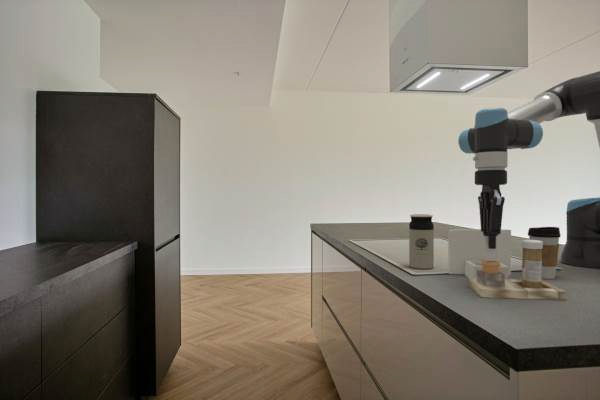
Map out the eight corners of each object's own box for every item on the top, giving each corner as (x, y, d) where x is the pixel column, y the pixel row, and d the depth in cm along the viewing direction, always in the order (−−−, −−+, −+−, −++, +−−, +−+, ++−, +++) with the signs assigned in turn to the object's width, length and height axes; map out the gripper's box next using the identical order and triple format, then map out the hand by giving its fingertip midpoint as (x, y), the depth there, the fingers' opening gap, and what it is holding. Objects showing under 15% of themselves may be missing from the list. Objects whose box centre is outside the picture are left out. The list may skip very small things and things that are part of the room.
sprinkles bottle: (524, 289, 102) (524, 238, 102) (544, 292, 99) (544, 240, 99) (519, 293, 99) (519, 240, 98) (540, 296, 96) (540, 242, 95)
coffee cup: (565, 280, 112) (566, 228, 111) (533, 279, 114) (533, 228, 113) (552, 274, 120) (553, 226, 120) (523, 273, 122) (523, 225, 121)
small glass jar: (496, 279, 102) (496, 260, 102) (502, 282, 98) (502, 263, 98) (478, 278, 103) (478, 259, 103) (484, 282, 98) (484, 262, 98)
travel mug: (412, 264, 138) (412, 214, 138) (435, 266, 134) (435, 214, 134) (406, 268, 131) (406, 215, 131) (430, 270, 127) (430, 215, 127)
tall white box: (508, 274, 120) (509, 229, 120) (525, 283, 109) (525, 233, 108) (448, 272, 123) (448, 229, 123) (458, 281, 111) (458, 233, 111)
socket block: (541, 287, 104) (542, 269, 104) (565, 300, 92) (565, 279, 92) (467, 285, 107) (467, 267, 107) (481, 297, 95) (481, 277, 95)
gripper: (468, 171, 107) (467, 256, 107) (483, 168, 94) (482, 265, 94) (497, 170, 105) (496, 256, 106) (516, 167, 93) (515, 265, 93)
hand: (490, 260), depth 100 cm, fingers closed
